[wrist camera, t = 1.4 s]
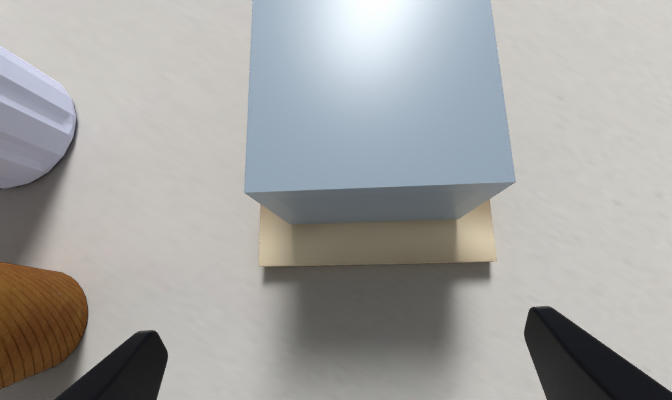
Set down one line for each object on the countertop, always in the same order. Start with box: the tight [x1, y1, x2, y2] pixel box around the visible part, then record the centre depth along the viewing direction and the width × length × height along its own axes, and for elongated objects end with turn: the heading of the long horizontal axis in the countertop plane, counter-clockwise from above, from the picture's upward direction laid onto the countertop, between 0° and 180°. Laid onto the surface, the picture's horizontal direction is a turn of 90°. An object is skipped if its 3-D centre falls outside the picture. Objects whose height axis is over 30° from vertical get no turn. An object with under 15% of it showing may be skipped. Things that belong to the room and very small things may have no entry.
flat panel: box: [259, 199, 497, 267], centre depth 22 cm, size 22×14×5 cm, turn 1°
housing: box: [244, 0, 516, 224], centre depth 18 cm, size 9×10×8 cm
